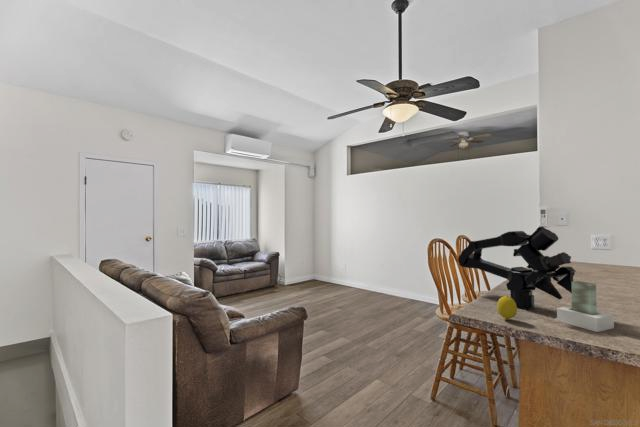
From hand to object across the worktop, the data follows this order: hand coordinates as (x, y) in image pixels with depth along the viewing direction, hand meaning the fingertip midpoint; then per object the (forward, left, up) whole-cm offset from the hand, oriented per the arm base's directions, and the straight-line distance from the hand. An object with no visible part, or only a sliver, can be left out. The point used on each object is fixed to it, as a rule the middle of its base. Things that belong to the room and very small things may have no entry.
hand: (570, 297), depth 97 cm
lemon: (-13, -16, -8) cm, 22 cm away
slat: (+4, -1, -7) cm, 8 cm away
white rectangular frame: (+4, -1, -7) cm, 8 cm away
